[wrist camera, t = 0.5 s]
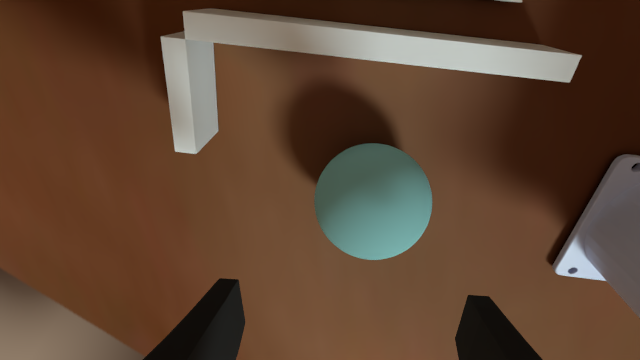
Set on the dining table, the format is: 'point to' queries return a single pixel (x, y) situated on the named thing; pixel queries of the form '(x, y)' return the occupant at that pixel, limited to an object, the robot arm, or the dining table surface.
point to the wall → (326, 39)
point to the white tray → (511, 0)
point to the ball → (373, 201)
